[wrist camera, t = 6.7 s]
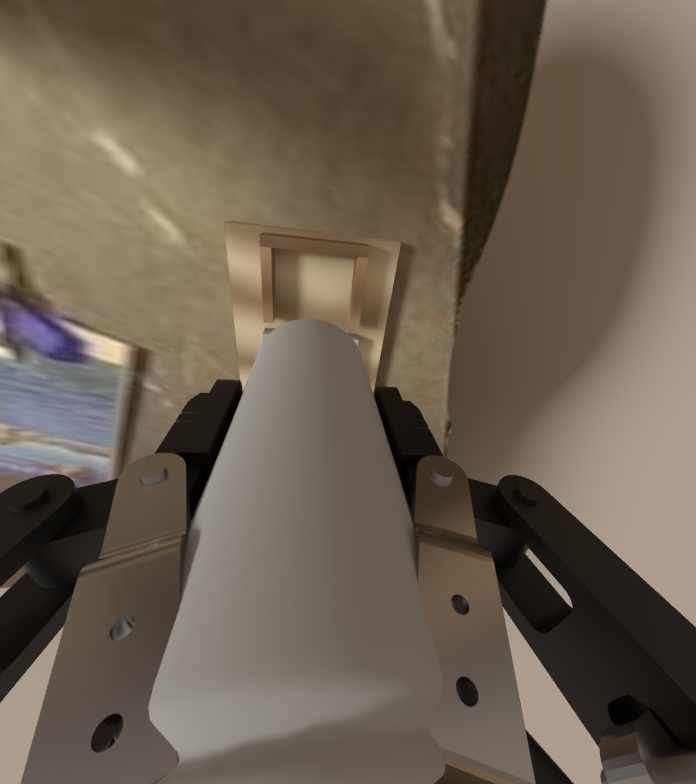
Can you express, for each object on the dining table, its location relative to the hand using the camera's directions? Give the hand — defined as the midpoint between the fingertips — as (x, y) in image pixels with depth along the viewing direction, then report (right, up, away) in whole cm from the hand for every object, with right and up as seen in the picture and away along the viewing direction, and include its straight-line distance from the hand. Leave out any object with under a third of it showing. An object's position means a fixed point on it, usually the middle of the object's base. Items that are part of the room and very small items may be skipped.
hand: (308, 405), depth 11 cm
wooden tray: (-3, +3, +20) cm, 21 cm away
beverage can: (0, +2, +3) cm, 4 cm away
